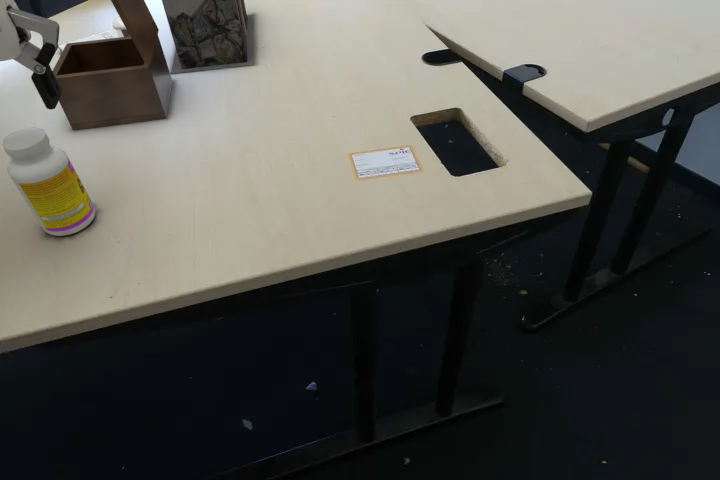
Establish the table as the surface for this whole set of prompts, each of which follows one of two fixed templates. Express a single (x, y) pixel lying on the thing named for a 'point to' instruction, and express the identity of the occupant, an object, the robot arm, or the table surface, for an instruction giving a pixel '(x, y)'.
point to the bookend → (210, 34)
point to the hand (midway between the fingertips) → (9, 109)
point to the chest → (112, 83)
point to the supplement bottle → (48, 182)
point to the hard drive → (93, 38)
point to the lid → (138, 25)
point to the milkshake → (120, 28)
